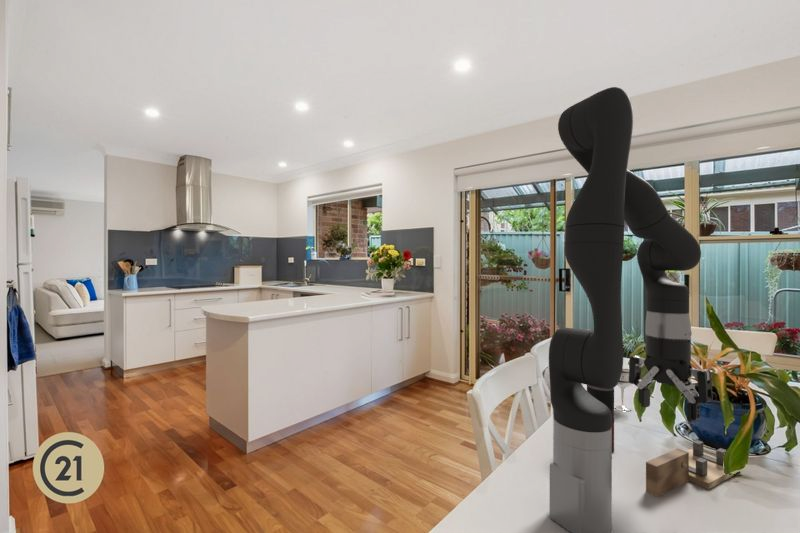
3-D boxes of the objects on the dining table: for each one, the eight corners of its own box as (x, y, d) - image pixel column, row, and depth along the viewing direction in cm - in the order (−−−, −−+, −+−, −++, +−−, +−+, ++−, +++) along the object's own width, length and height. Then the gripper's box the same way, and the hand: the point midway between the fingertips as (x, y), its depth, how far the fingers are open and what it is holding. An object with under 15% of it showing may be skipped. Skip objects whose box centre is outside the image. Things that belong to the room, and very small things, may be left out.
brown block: (659, 499, 71) (659, 467, 71) (646, 492, 73) (645, 461, 74) (691, 482, 77) (691, 453, 77) (677, 476, 79) (677, 448, 79)
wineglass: (640, 410, 116) (640, 372, 116) (625, 413, 113) (625, 374, 113) (619, 403, 122) (620, 366, 122) (605, 406, 119) (605, 368, 119)
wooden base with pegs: (709, 489, 74) (709, 468, 74) (660, 467, 82) (660, 448, 82) (740, 471, 81) (740, 452, 81) (692, 453, 89) (692, 435, 89)
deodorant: (586, 450, 90) (586, 388, 90) (587, 440, 95) (587, 381, 95) (614, 456, 87) (614, 392, 87) (613, 445, 93) (613, 385, 93)
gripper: (621, 330, 80) (621, 405, 80) (699, 342, 68) (700, 431, 68) (641, 327, 84) (641, 399, 84) (719, 338, 71) (719, 422, 71)
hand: (667, 413), depth 76 cm, fingers open, 8 cm apart
